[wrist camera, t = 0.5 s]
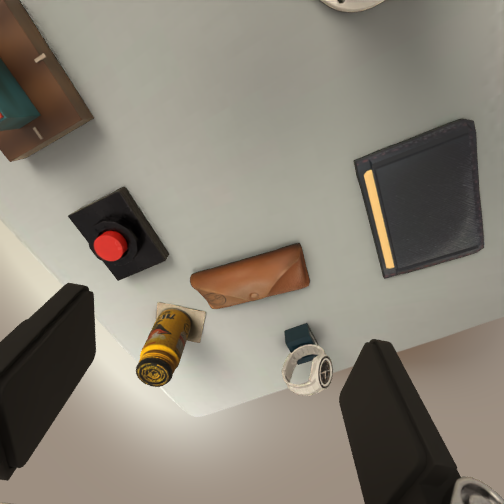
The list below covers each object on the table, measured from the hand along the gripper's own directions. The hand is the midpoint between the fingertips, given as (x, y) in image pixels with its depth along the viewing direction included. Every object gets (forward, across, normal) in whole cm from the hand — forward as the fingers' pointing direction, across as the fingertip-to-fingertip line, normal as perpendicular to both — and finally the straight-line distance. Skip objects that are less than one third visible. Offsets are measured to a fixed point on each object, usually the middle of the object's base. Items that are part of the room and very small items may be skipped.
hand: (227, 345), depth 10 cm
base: (+34, +30, -3) cm, 46 cm away
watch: (+35, -15, +28) cm, 47 cm away
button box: (+34, +17, +14) cm, 41 cm away
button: (+31, +17, +15) cm, 38 cm away
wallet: (+34, -24, +1) cm, 42 cm away
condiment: (+35, +7, +30) cm, 47 cm away
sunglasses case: (+35, -4, +18) cm, 39 cm away
